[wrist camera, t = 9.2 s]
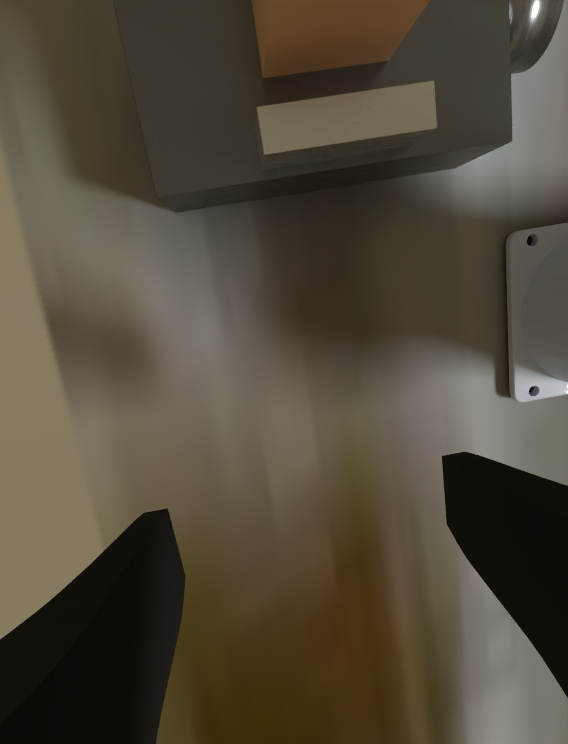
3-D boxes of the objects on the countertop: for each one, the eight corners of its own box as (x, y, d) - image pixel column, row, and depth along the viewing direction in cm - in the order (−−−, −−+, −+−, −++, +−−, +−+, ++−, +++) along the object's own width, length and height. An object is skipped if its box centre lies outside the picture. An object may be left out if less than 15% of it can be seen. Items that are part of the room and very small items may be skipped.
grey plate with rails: (493, -98, 16) (634, -307, 10) (500, 160, 18) (619, 111, 12) (120, -49, 15) (44, -243, 9) (176, 212, 18) (142, 185, 12)
